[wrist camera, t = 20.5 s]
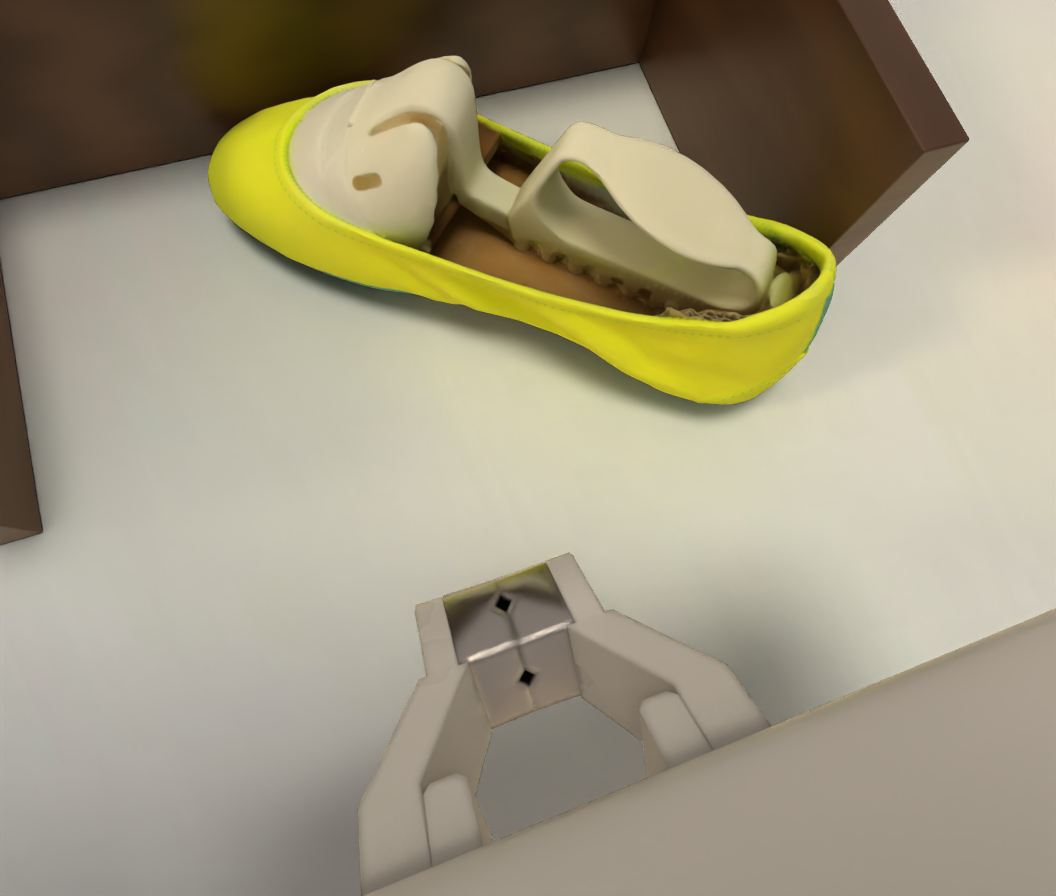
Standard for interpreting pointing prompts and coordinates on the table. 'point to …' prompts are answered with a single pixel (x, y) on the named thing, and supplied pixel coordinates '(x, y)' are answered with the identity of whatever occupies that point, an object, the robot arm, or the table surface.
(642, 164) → the ballet flat
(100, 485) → the table surface
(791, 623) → the table surface
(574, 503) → the table surface
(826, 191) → the wooden shelf
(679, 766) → the robot arm
